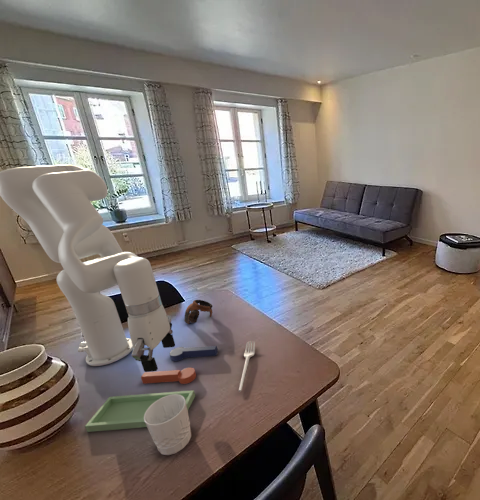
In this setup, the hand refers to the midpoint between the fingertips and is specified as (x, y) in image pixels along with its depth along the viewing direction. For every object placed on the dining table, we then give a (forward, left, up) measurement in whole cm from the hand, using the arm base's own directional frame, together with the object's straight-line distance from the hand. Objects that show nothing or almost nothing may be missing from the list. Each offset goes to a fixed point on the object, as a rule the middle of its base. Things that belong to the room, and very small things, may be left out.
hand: (160, 358), depth 82 cm
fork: (+22, +3, -8) cm, 23 cm away
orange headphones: (-3, +31, -8) cm, 32 cm away
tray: (0, -11, -8) cm, 13 cm away
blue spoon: (+3, +10, -8) cm, 13 cm away
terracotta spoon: (+2, 0, -8) cm, 8 cm away
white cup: (+11, -19, -8) cm, 24 cm away
